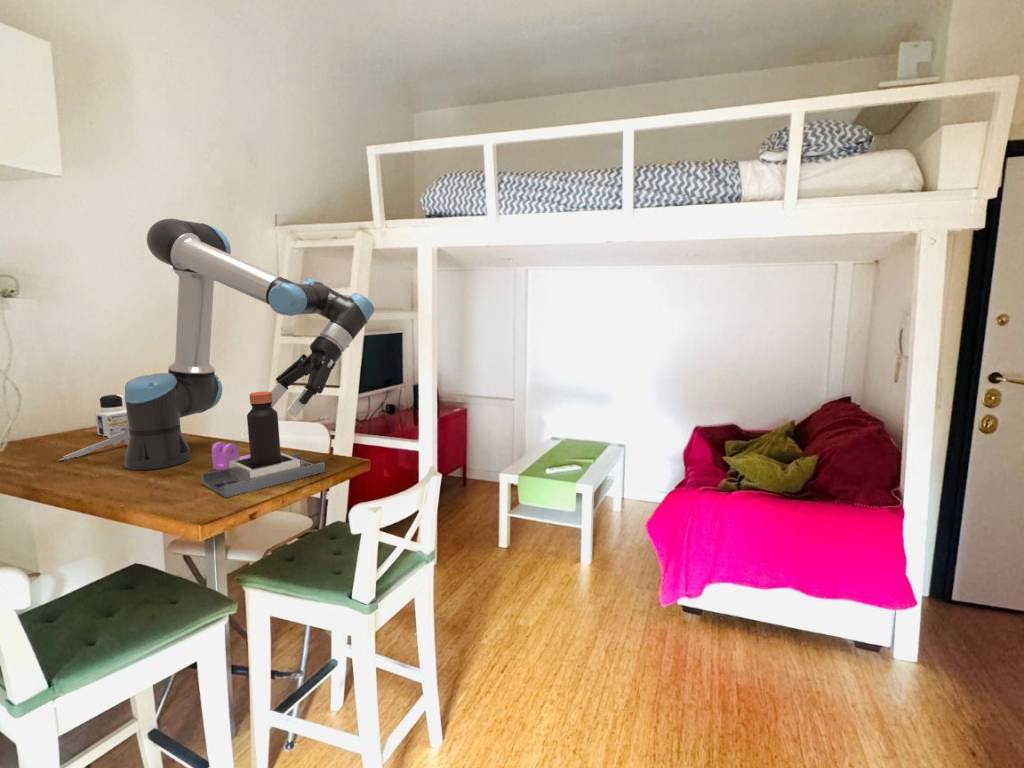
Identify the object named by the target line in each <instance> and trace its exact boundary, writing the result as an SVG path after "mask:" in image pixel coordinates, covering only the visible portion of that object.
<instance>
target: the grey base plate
mask: <svg viewBox="0 0 1024 768" xmlns="http://www.w3.org/2000/svg"><path fill="white" fill-rule="evenodd" d="M325 471H326V463H325V462H322V461H321V462H318V463H312V462H309V461H306V460H303V459H301V453H299V452H296V453H292V454H286V453H283V452H281V463H277V464H273V465H268V466H264V467H259V468H255V469H251V458H250V457H246V458H242V459H237V460H232V461H229V468H227V469H223V470H214V471H210V472H204V473H201V483H202V485H203V486H205V487H206V488H209V489H210V490H211V491H213V492H214V493H217V494H218V493H219V494H218V495H220V496H222V497H223V496H224V498H225V497H227V498H230V496H231V497H235V496H239V495H242V493H243V494H246V492H247V493H250V492H254V491H258V490H262V488H263V489H266V488H270V487H274V486H277V484H278V485H282V484H285V482H286V483H290V482H294V481H297V479H298V480H301V478H302V479H305V478H304V477H306V478H308V476H310V477H312V476H311V475H314V476H316V475H315V474H318V473H322V472H325ZM322 474H323V473H322ZM318 475H319V474H318ZM293 480H294V481H293ZM281 483H282V484H281ZM273 485H274V486H273ZM269 486H270V487H269ZM265 487H266V488H265ZM238 494H239V495H238ZM234 495H235V496H234Z"/></svg>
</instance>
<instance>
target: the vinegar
mask: <svg viewBox="0 0 1024 768" xmlns="http://www.w3.org/2000/svg"><path fill="white" fill-rule="evenodd" d="M249 403H250V406H251V409H250V411H249V412H248V413H247V414H246V421H247V422H246V423H247V431H248V432H247V433H248V434H247V435H248V445H249V446H248V447H249V454H250V458H251V469H255V468H259V467H264V466H268V465H273V464H277V463H281V453H282V451H281V443H280V442H281V441H280V429H279V427H280V425H279V413H278V412H277V410H276V409H274V407H273V408H272V407H271V404H272V392H271V391H257V392H256V391H255V392H251V393H249Z"/></svg>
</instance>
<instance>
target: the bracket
mask: <svg viewBox="0 0 1024 768" xmlns="http://www.w3.org/2000/svg"><path fill="white" fill-rule="evenodd" d="M211 457H212V467H213V468H212V469H213V470H214V469H216V470H215V471H218V470H223V469H227V468H229V461H232V460H237V459H242V458H246V457H250V453H249V454H246V455H242V456H240V448H239V446H238V445H237V444H234V443H226V442H223V441H217V442H215V443H213V445H212V446H211Z"/></svg>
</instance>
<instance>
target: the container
mask: <svg viewBox="0 0 1024 768" xmlns="http://www.w3.org/2000/svg"><path fill="white" fill-rule="evenodd" d="M124 397H125V395H122V394H109V395H107V394H106V395H103V396H101V397H100V398H99V404H100V410H101V411H96V412H94V415H95V423H96V424H95V425H96V429H97V435H98V434H99V435H103V436H102V437H104V436H107V437H106V438H108V437H111V436H113V435H116V434H118V433H121V432H125V429H124V428H127V429H128V426H129V425H128V417H127V410H126V402H125V398H124ZM99 435H98V436H99Z"/></svg>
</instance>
